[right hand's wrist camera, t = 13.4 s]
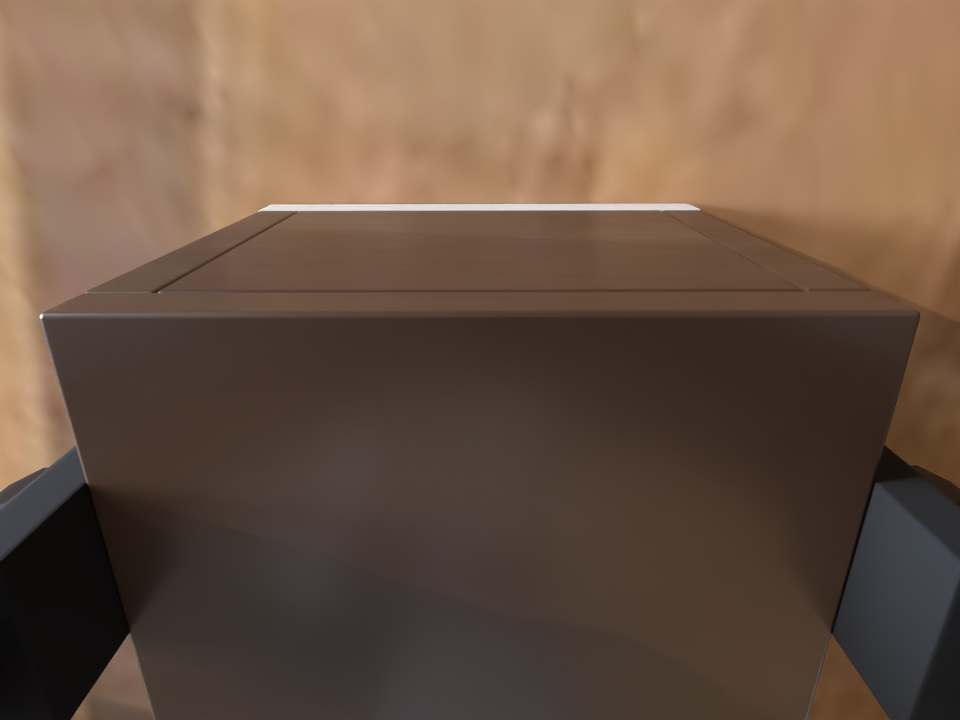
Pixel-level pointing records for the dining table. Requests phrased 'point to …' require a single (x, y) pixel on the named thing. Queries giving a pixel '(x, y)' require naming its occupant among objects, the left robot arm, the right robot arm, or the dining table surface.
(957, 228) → the dining table surface
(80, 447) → the cabinet
